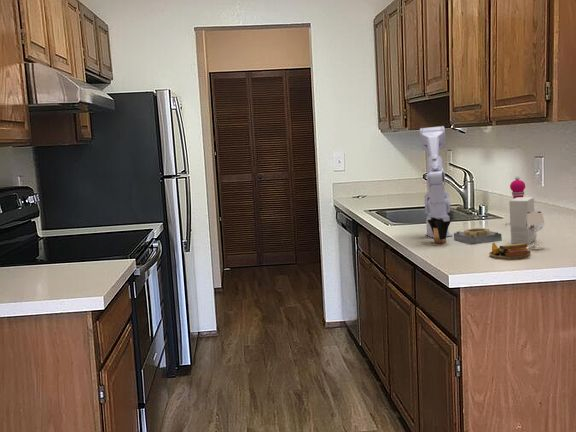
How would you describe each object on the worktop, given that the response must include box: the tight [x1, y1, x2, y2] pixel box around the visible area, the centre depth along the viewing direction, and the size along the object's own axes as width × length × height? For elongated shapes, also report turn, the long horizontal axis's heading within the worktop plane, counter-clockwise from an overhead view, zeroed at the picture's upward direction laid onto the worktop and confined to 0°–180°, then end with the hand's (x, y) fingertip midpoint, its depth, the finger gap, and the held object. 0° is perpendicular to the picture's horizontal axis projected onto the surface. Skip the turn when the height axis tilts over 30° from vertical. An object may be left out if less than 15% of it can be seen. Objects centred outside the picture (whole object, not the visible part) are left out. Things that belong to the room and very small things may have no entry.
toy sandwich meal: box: [488, 242, 532, 260], centre depth 191 cm, size 12×14×5 cm
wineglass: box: [525, 210, 545, 250], centre depth 199 cm, size 6×6×12 cm
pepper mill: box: [509, 176, 526, 199], centre depth 252 cm, size 7×7×20 cm
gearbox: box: [453, 227, 503, 245], centre depth 226 cm, size 17×12×4 cm
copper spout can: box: [433, 227, 447, 244], centre depth 226 cm, size 4×4×7 cm
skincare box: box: [508, 196, 535, 245], centre depth 211 cm, size 8×7×16 cm
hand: (440, 238), depth 226 cm, fingers closed on copper spout can, 4 cm apart
